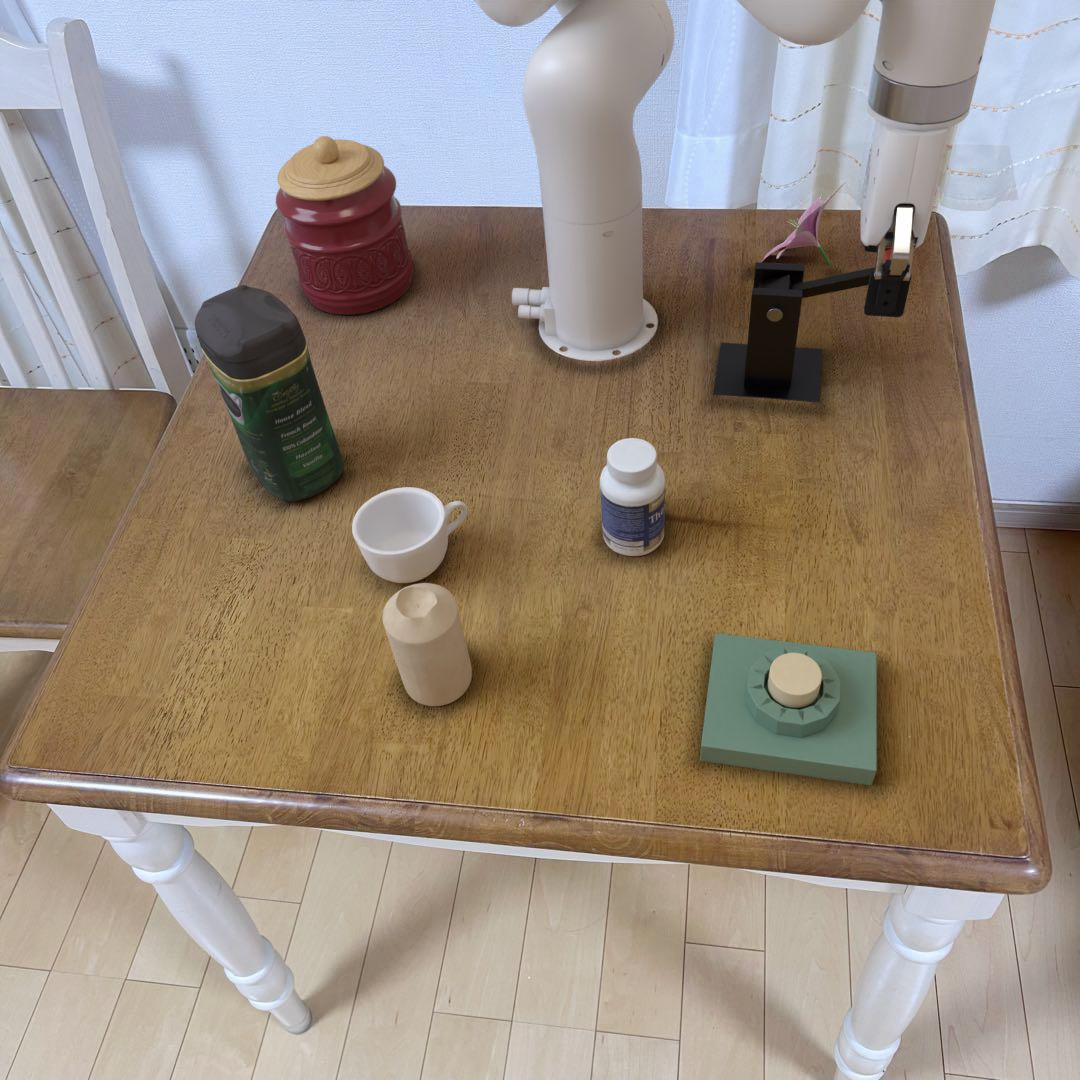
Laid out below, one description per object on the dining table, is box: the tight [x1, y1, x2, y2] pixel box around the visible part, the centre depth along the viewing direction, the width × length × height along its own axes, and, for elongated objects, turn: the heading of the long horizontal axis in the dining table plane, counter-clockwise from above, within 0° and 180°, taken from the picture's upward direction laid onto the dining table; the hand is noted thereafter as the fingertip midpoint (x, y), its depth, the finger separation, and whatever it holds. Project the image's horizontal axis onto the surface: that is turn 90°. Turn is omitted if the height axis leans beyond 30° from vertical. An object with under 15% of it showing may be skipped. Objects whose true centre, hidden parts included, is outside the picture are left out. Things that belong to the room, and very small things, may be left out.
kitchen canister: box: [275, 135, 414, 316], centre depth 111 cm, size 13×13×18 cm
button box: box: [699, 632, 878, 786], centre depth 74 cm, size 12×10×4 cm
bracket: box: [712, 261, 823, 403], centre depth 96 cm, size 10×8×12 cm
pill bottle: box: [599, 437, 666, 557], centre depth 85 cm, size 5×5×10 cm
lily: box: [760, 181, 847, 267], centre depth 110 cm, size 12×12×10 cm
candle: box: [381, 582, 473, 707], centre depth 77 cm, size 6×6×10 cm
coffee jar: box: [194, 284, 345, 502], centre depth 91 cm, size 10×8×19 cm
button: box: [768, 653, 822, 708], centre depth 73 cm, size 4×4×2 cm
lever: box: [759, 249, 892, 299], centre depth 91 cm, size 12×5×2 cm, turn 78°
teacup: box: [351, 486, 469, 584], centre depth 87 cm, size 10×8×5 cm
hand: (882, 281), depth 90 cm, fingers open, 9 cm apart
